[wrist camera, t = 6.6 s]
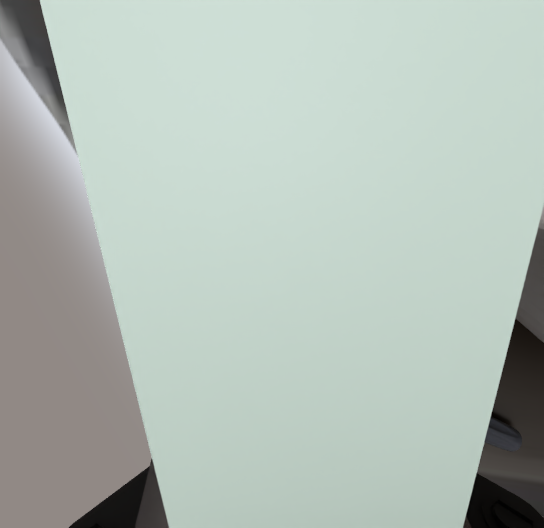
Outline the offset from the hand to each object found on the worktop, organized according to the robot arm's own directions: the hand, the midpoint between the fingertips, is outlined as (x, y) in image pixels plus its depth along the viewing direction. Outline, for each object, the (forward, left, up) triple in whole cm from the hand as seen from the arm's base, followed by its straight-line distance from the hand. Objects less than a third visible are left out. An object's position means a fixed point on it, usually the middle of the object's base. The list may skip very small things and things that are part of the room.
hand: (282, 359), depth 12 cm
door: (0, 0, -4) cm, 4 cm away
